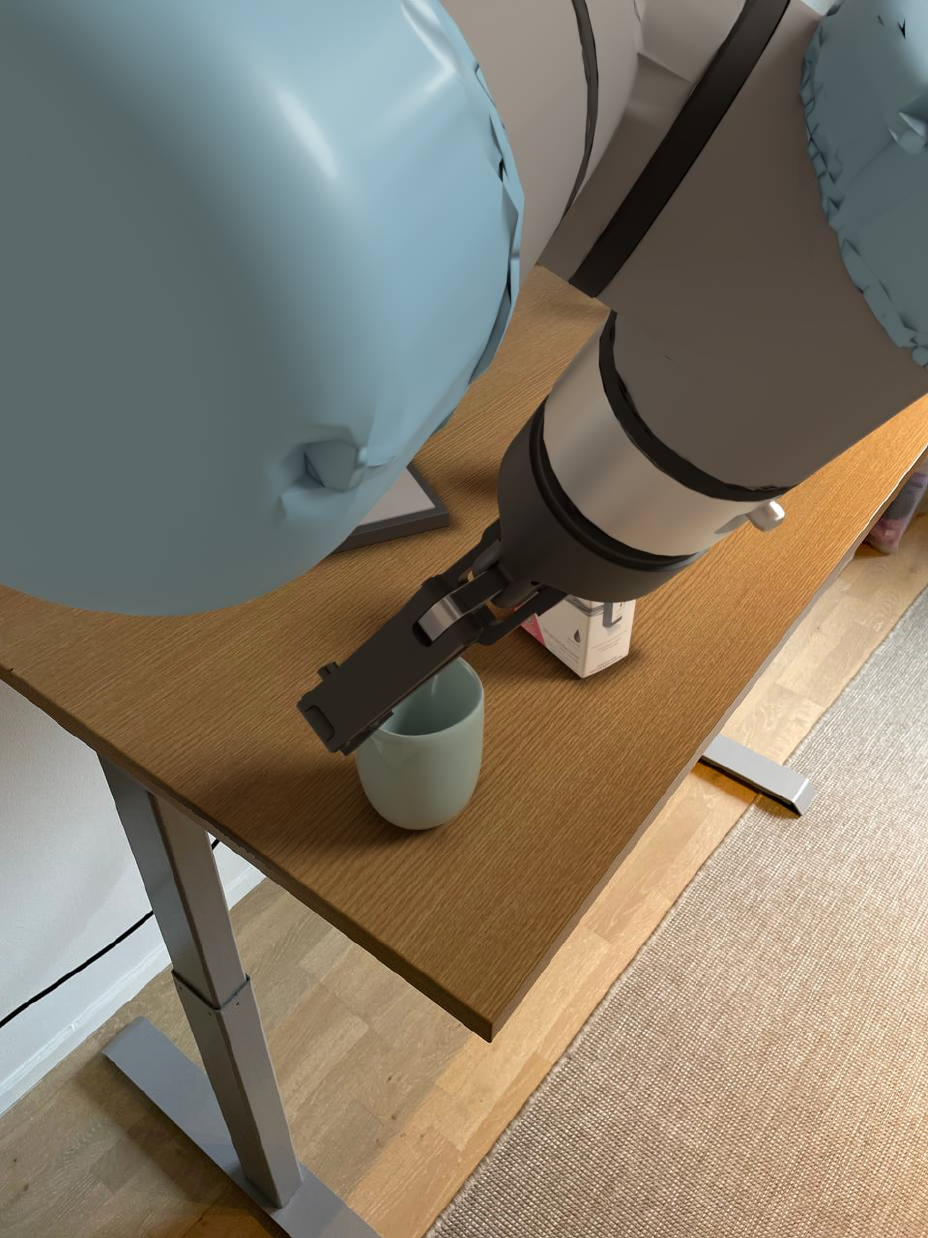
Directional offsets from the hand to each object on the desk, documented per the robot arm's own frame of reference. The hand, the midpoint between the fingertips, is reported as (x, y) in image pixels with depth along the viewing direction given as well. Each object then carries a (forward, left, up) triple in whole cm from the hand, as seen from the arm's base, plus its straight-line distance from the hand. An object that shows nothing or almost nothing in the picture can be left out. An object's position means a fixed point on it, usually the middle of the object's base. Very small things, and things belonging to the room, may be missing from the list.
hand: (437, 658), depth 51 cm
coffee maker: (-8, +40, -15) cm, 44 cm away
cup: (-1, +3, -15) cm, 16 cm away
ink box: (+11, +18, -15) cm, 26 cm away
